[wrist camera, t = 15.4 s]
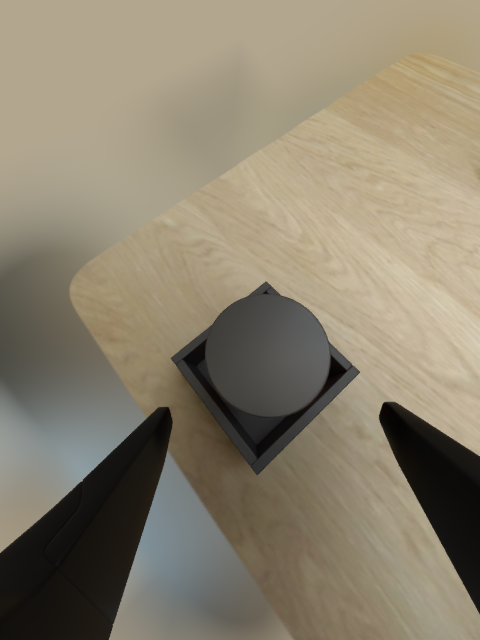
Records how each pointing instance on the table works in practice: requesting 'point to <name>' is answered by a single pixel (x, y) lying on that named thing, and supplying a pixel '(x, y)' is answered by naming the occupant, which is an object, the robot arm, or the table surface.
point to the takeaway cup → (267, 356)
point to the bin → (249, 431)
